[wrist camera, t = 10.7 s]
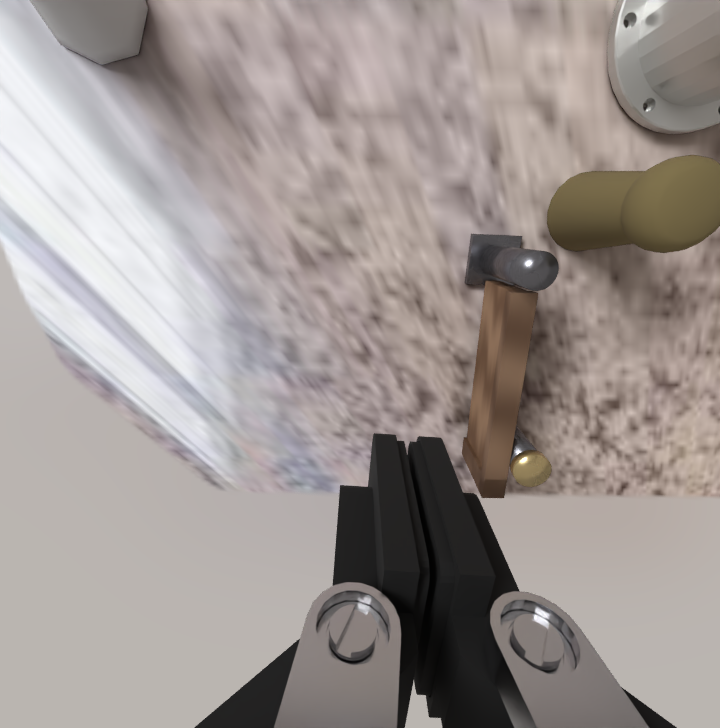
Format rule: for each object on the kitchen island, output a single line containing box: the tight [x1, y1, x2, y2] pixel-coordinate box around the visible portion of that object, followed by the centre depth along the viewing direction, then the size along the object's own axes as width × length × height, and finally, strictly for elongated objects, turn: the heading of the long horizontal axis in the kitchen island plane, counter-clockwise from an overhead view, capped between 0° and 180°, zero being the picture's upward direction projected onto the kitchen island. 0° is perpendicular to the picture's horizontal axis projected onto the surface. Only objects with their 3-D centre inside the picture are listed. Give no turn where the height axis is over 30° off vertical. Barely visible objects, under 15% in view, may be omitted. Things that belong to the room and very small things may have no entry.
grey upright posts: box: [465, 234, 559, 487], centre depth 30 cm, size 7×19×9 cm, turn 178°
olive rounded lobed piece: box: [547, 155, 720, 253], centre depth 25 cm, size 6×6×11 cm
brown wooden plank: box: [462, 281, 538, 498], centre depth 31 cm, size 17×2×6 cm, turn 179°
